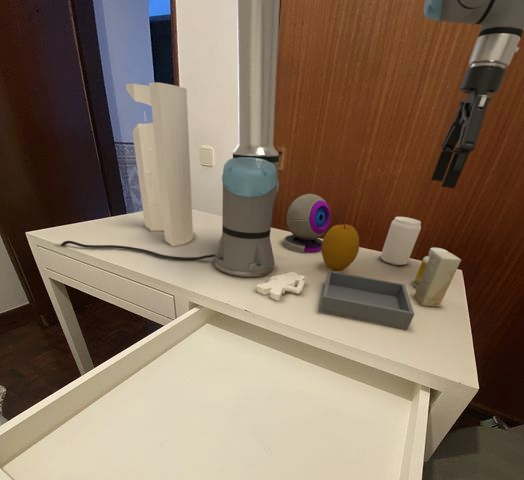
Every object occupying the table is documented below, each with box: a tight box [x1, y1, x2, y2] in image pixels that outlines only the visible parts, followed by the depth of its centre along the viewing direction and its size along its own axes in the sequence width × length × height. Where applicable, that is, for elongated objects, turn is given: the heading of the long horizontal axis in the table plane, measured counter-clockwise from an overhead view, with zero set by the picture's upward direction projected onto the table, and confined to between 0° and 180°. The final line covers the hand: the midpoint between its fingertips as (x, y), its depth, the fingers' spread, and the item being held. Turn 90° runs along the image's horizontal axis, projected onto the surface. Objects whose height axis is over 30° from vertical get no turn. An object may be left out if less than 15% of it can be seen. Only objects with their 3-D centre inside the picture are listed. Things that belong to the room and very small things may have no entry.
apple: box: [320, 223, 360, 272], centre depth 80 cm, size 10×10×12 cm
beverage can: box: [379, 216, 422, 266], centre depth 89 cm, size 8×8×12 cm
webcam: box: [283, 193, 331, 254], centre depth 92 cm, size 13×13×15 cm
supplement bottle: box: [412, 247, 449, 289], centre depth 75 cm, size 5×5×10 cm
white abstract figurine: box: [256, 271, 306, 302], centre depth 69 cm, size 9×12×2 cm
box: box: [413, 251, 462, 308], centre depth 68 cm, size 5×4×11 cm
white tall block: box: [125, 81, 194, 247], centre depth 84 cm, size 35×11×21 cm
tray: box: [318, 270, 415, 330], centre depth 65 cm, size 18×15×4 cm
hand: (441, 183), depth 75 cm, fingers open, 13 cm apart
